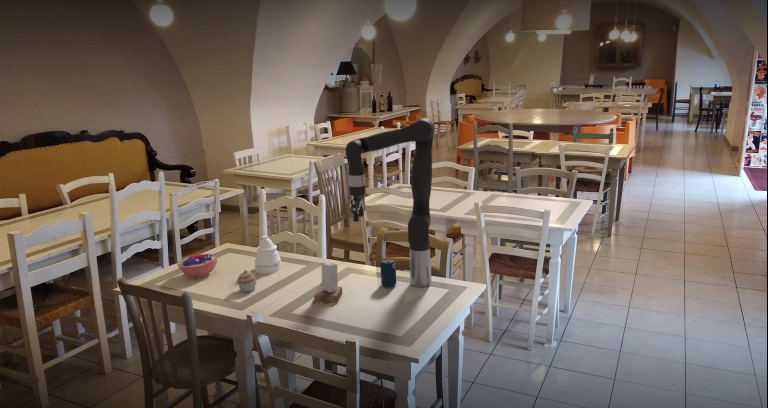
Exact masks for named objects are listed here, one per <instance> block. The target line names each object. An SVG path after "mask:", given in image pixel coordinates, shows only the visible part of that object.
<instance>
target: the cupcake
mask: <svg viewBox="0 0 768 408" xmlns="http://www.w3.org/2000/svg"><path fill="white" fill-rule="evenodd" d="M257 281H258V278H256V277H255V274H254V273H252V272H251V271H250V270H246V269H245V270H243V272H241V273H240V274H239V276H238V277H237V281H236V284H237V285H238V287H239V290H240V291H241V292H242V293H243V294H244V293H245V294H246V293H252V292H254V291H255V289H256V284H257Z"/></svg>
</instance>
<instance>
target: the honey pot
mask: <svg viewBox="0 0 768 408" xmlns="http://www.w3.org/2000/svg"><path fill="white" fill-rule="evenodd" d="M277 248H278V245H276V244H274V243H273V241H272V240H271V239H270V237H268V235H262V236H261V240H260V243H259V245H258V246H257V247H256V251H257V252H256V254H255V259H254V267H255V272H256V273H258V274H262V275H267V274H274V273H277V272H279V271H281V270H282V259H281V256H280V254H279V251H278V250H277ZM280 269H281V270H280Z"/></svg>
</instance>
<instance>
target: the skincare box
mask: <svg viewBox="0 0 768 408" xmlns="http://www.w3.org/2000/svg"><path fill="white" fill-rule="evenodd" d="M321 282H322V289H323V290H325V291H327V292H330V293H332V292H335V291H337V283H338V264H336V263H334V262H331V261H330V260H329V261H328V260H327V261H324V262H322V263H321Z"/></svg>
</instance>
